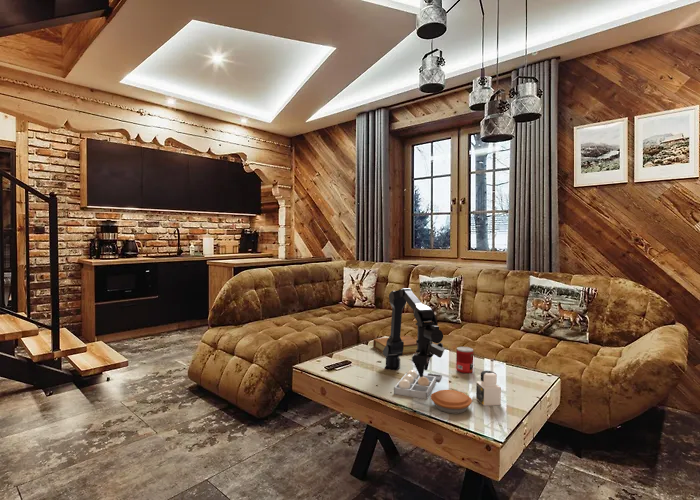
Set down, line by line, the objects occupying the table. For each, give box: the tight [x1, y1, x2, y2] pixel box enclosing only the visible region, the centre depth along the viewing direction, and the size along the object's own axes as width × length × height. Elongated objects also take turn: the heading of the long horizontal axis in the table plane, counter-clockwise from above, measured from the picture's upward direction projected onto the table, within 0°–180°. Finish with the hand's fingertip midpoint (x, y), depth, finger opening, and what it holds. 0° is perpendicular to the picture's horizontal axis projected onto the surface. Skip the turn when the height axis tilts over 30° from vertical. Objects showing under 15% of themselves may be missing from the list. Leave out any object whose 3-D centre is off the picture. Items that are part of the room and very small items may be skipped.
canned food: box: [455, 346, 474, 374], centre depth 194 cm, size 8×8×11 cm
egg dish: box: [427, 372, 443, 382], centre depth 183 cm, size 6×6×1 cm
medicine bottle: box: [475, 370, 502, 407], centre depth 156 cm, size 7×7×12 cm
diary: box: [372, 335, 418, 355], centre depth 231 cm, size 23×19×6 cm
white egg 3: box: [398, 379, 410, 389], centre depth 166 cm, size 5×5×5 cm
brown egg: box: [418, 377, 429, 386], centre depth 170 cm, size 5×5×5 cm
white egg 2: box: [402, 374, 414, 384], centre depth 172 cm, size 5×5×5 cm
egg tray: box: [393, 372, 437, 400], centre depth 171 cm, size 14×20×3 cm
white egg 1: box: [406, 369, 418, 379], centre depth 178 cm, size 5×5×5 cm
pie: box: [430, 389, 473, 414], centre depth 151 cm, size 16×16×5 cm
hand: (423, 373), depth 169 cm, fingers open, 9 cm apart
